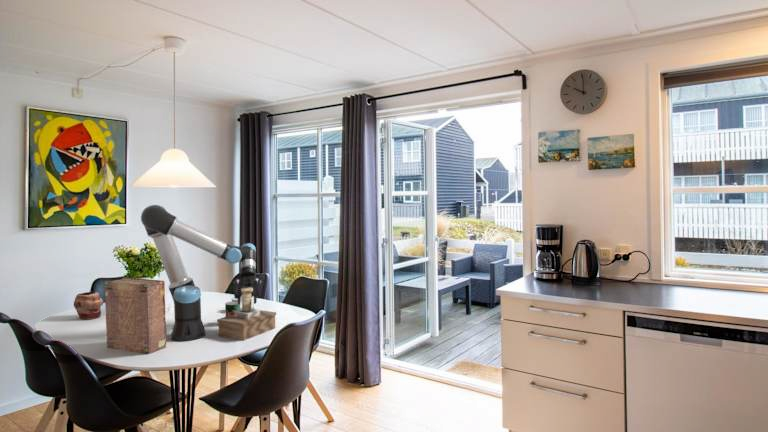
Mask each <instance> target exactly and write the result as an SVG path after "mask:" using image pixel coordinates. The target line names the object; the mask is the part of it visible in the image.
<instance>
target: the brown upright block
mask: <svg viewBox="0 0 768 432" xmlns="http://www.w3.org/2000/svg"><path fill="white" fill-rule="evenodd" d="M165 282H166V281H165V280H160V279H158V280H157V279H146V278H134V277H122V278H121V279H115V280H104V295H105V297H104V301H105V302H104V303H105V304H104V305H105V328H106V347H107V348H109V349H114V350H121V351H128V352H134V353H135V352H136V353H141V354H148V355H149V354H153V353H155V352H157V351H160V350H163V349H164V348H167V333H166V331H167V330H166V329H167V328H166V326H167V325H166V296H165V295H166V294H165V293H166V292H165V291H166V290H165V287H166V286H165V284H166V283H165Z"/></svg>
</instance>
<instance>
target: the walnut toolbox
mask: <svg viewBox="0 0 768 432" xmlns="http://www.w3.org/2000/svg"><path fill="white" fill-rule="evenodd" d="M276 315H277V311H276V312H275V311H269V310H261V309H257V308H254V310H252V312H248V313H246V312H243V309H242V311H240V310H239V311H236V312H235V314H233V315H230V316H227V317H226V316H224V317H220V318H218V319H216V322H217V323H218V336H219V337H223V338H228V339H233V340H240V341H246V340H249V339H251V338H254V337H257V336H258V335H262V334H264V333H267V332H270V331H272V330H273V329H276Z"/></svg>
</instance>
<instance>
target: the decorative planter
mask: <svg viewBox="0 0 768 432" xmlns="http://www.w3.org/2000/svg"><path fill="white" fill-rule="evenodd" d="M103 305H104V300H103V299H102V297H101V296H100V294H99V292H97V291H87V292H82V293H81V292H80V293H78V294H76V296H75V297H74V301H73V307H74V309H75V311H76V313H77V316H78V317H79V319H80V320H93V319H97V318H100V317H101V314H102V310H101V307H102V306H103Z"/></svg>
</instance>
